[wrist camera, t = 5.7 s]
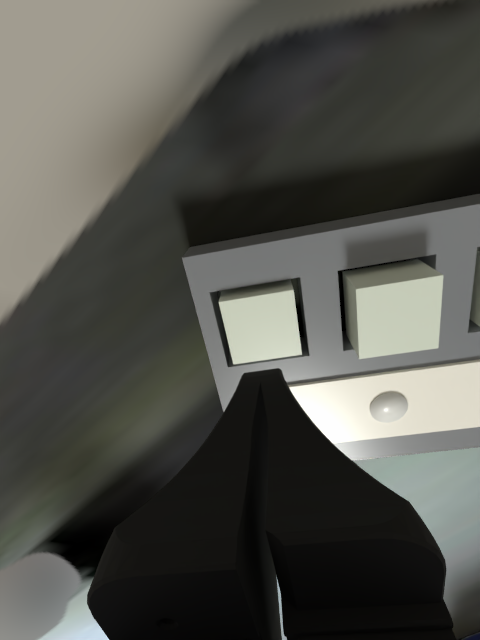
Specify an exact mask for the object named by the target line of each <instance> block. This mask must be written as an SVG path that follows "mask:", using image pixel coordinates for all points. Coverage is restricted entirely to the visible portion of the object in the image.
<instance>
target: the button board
mask: <svg viewBox="0 0 480 640" xmlns="http://www.w3.org/2000/svg"><path fill="white" fill-rule="evenodd" d="M477 247H480V194H475V195H470V196H464V197H459V198H453V199H448V200H443V201H437V202H432V203H426V204H421V205H416V206H410V207H405V208H399V209H394V210H388V211H383V212H378V213H372V214H367V215H361V216H356V217H351V218H345V219H340V220H334V221H329V222H324V223H318V224H313V225H307V226H302V227H296V228H291V229H286V230H280V231H275V232H269V233H264V234H259V235H253V236H248V237H242V238H237V239H231V240H226V241H221V242H215V243H210V244H204V245H199V246H194V247H189V249H188V250H187V252H186V253H185V254H184V256H183V257H182V259H183V263H184V267H185V271H186V274H187V278H188V282H189V285H190V289H191V293H192V297H193V300H194V304H195V308H196V311H197V315H198V319H199V323H200V326H201V330H202V334H203V338H204V341H205V345H206V349H207V352H208V356H209V360H210V364H211V367H212V371H213V375H214V378H215V382H216V386H217V390H218V393H219V397H220V401H221V404H222V408H223V412H224V411H225V409H226V407H227V406H228V404H229V402H230V400H231V398H232V396H233V394H234V392H235V390H236V388H237V386H238V384H239V381H240V379H241V376H242V375H243V374H244V373H247V372H254V371H261V370H268V369H276V368H279V369H281V370H282V373H283V376H284V378H285V381H286V383H287V385H288V387H289V388H290V390H291V392H292V394H293V395H294V397H295V398H296V400H297V401H298V403H299V404H300V406H301V407H302V408H303V410H304V411H305V413H306V414H307V415H308V416H309V418H310V419H311V420H312V421H313V423H314V424H315V425H316V426H317V427H318V428H319V429H320V431H321V432H322V433H323V434H324V435H325V436H326V437H327V438H328V439H329V440H330V441H331V442H332V443H333V444H334V445H335V446H336V447H337V448H338V449H339V450H340V451H341V452H343V453H344V454H345V455H346V456H347V457H348V458H350V459H351V460H352V461H354V460H364V459H373V458H382V457H392V456H401V455H411V454H420V453H429V452H439V451H448V450H457V449H467V448H476V447H480V326H478V325H477V324H476V323H474V322H473V321H472V320H470V319H469V318H470V309H471V300H472V291H473V282H474V273H475V263H476V254H477ZM411 258H416V259H419V260H420V261H422V262H423V263H425V264H427V265H428V266H430V267H431V268H433V269H435V270H436V271H438V272H439V273H441V274H442V275H443V290H442V304H441V318H440V333H439V347H438V348H436V349H429V350H422V351H415V352H408V353H400V354H393V355H386V356H379V357H372V358H365V359H359V358H358V356H357V354H356V352H355V350H354V348H353V346H352V344H351V342H350V341H349V339H348V337H347V335H346V331H342V327H341V312H340V298H339V284H338V271H340V270H346V269H352V268H358V267H364V266H370V265H375V264H381V263H387V262H393V261H399V260H405V259H411ZM292 278H297V282H298V290H299V298H300V307H301V315H302V323H303V331H304V337H301V338H300V343H301V351H302V355H296V356H289V357H282V358H275V359H268V360H261V361H254V362H247V363H240V364H233V361H232V357H231V352H230V348H229V344H228V340H227V335H226V331H225V327H224V323H223V318H222V314H221V310H220V306H219V299H218V295H217V291H221V290H227V289H233V288H239V287H245V286H251V285H257V284H263V283H269V282H274V281H280V280H286V279H292Z"/></svg>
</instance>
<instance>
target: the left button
mask: <svg viewBox="0 0 480 640" xmlns="http://www.w3.org/2000/svg"><path fill="white" fill-rule="evenodd" d="M219 306H220V310H221V314H222V318H223V323H224V327H225V331H226V335H227V340H228V344H229V348H230V352H231V357H232V361H233V364H240V363H247V362H254V361H261V360H268V359H275V358H282V357H289V356H296V355H302V351H301V343H300V335H299V328H298V320H297V312H296V305H295V297H294V290H293V286H292V283H291V280H290V279H286V280H280V281H274V282H269V283H263V284H257V285H251V286H245V287H239V288H233V289H227V290H221V294H220V299H219Z"/></svg>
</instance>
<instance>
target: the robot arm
mask: <svg viewBox="0 0 480 640" xmlns="http://www.w3.org/2000/svg"><path fill="white" fill-rule="evenodd" d="M276 575H277V578H276ZM445 577H446V564H445V559H444V557H443V555H442V553H441V550H440V548H439V546H438V545H437V543H436V541H435V539H434V538H433V536H432V534H431V533H430V531H429V529H428V528H427V526H426V525H425V523H424V522H423V520H422V519H421V517H420V516H419V515H418V513H417V512H416V511H415V509H414V508H413V506H412V505H411V504H410V502H409V501H407V500H405V499H404V498H402V497H401V496H399V495H398V494H396V493H395V492H393V491H392V490H390V489H389V488H387V487H386V486H384V485H383V484H381V483H380V482H378V481H377V480H376V479H375V478H373V477H372V476H371V475H369V474H368V473H367V472H365V471H364V470H363V469H361V468H360V467H359V466H358V465H357V464H355V463H354V462H353V461H352V460H351V459H350V458H348V457H347V456H346V455H345V454H344V453H343V452H341V451H340V450H339V449H338V448H337V447H336V446H335V445H334V444H333V443H332V442H331V441H330V440H329V439H328V438H327V437H326V436H325V435H324V434H323V433H322V432H321V431H320V429H319V428H318V427H317V426H316V425H315V424H314V423H313V421H312V420H311V419H310V418H309V416H308V415H307V414H306V413H305V411H304V410H303V408H302V407H301V406H300V404H299V403H298V401H297V400H296V398H295V397H294V395H293V394H292V392H291V390H290V388H289V387H288V385H287V383H286V381H285V378H284V376H283V373H282V370H281V369H279V368H276V369H268V370H261V371H254V372H247V373H244V374H243V375H242V376H241V379H240V381H239V384H238V386H237V388H236V390H235V392H234V394H233V396H232V398H231V400H230V402H229V404H228V406H227V407H226V409H225V411H224V413H223V415H222V416H221V418H220V419H219V421H218V423H217V424H216V426H215V427H214V429H213V430H212V432H211V433H210V435H209V436H208V438H207V439H206V440H205V442H204V443H203V444H202V446H201V447H200V448H199V450H198V451H197V452H196V453H195V455H194V456H193V457H192V458H191V459H190V460H189V461H188V463H187V464H186V465H185V466H184V467H183V468H182V469H181V470H180V472H179V473H178V474H177V475H176V476H175V477H174V478H173V479H172V480H171V481H170V482H169V483H168V484H167V485H166V486H165V487H163V488H162V489H161V490H160V491H159V492H158V493H157V494H156V495H155V496H154V497H152V498H151V499H150V500H149V501H148V502H147V503H145V504H144V505H143V506H142V507H140V508H139V509H138V510H137V511H135V512H134V513H133V514H132V515H130V516H129V517H128V518H127V519H125V520H124V521H123V522H121V523H120V524H119V525H117V526H116V527H115V528H114V531H113V533H112V535H111V537H110V539H109V541H108V543H107V545H106V547H105V550H104V552H103V555H102V557H101V560H100V562H99V565H98V568H97V570H96V573H95V576H94V578H93V581H92V584H91V586H90V589H89V592H88V594H87V604H88V607H89V609H90V611H91V613H92V615H93V617H94V619H95V620H96V621H97V623H98V624H99V626H100V627H101V628H102V630H103V631H104V633H105V634H106V635H107V637H108V638H109V640H282V636H281V625H280V614H279V602H278V590H277V579H278V583H279V587H280V591H281V601H282V616H283V630H284V635H285V636H286V637H287V640H456V638H455V636H454V633H453V631H452V628H453V622H452V618H451V616H450V614H449V611H448V609H447V607H446V604H445V602H444V600H443V594H444V586H445Z"/></svg>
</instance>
